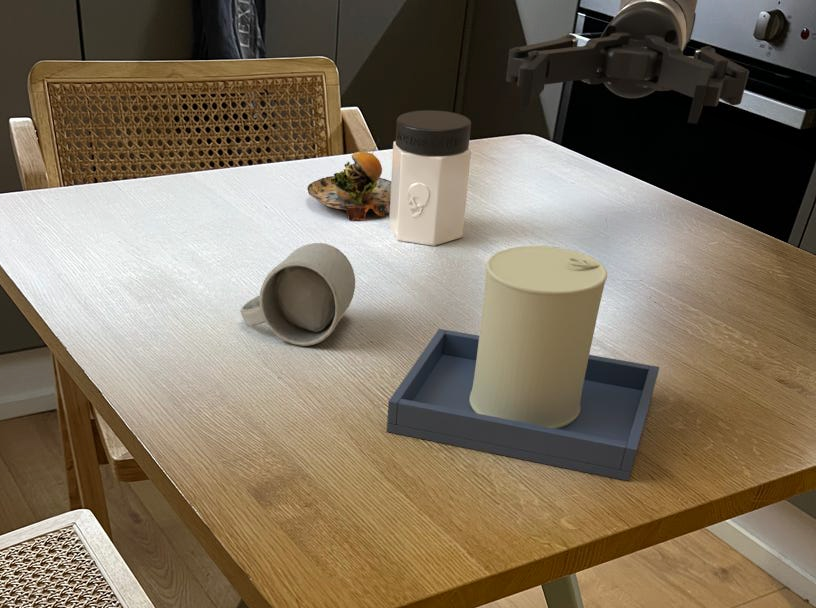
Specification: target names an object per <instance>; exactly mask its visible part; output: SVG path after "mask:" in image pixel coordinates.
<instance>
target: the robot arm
mask: <svg viewBox="0 0 816 608" xmlns="http://www.w3.org/2000/svg"><path fill="white" fill-rule="evenodd" d="M697 5H698V0H620V2H619V8H618V12H617V13H616V14H615V16H614V17H613V18H612V20H610V22H609V23H608V24H607V26H606V27H605V28H604V30H603V32H602V34H601V35H600V37H595V38H589V39H588V40H587V41H586V43H585V45H581V46H580V45H579V39H578V38H577V36H576V35H574V34H572V33H571V34H570V33H568V34H567V35H566V34H565V35H563V36H561V37H559V38H557V39H556V38H555V39H551V40H547V41H542V42H537V43H531V44H528V45H527V44H526V45H524V46H523V45H522V46H518V47H517V46H516V47H513V48H510V49H509V50H508V60H507V69H506V78H505V81H506V82H507V83H509V84H516V83H517V84H516V85H517V87H518V88H521V93H520V102H519V106H520V107H530V106H531V105H532V104H533V103H534V102H535V101H536V99H537V98H538V97H539V96H540V95H541V93H542V92H543V91H544V90H545V86H546V85H551V84H552V85H553V84H554V85H555V84H559V83H560V84H562V83H568V82H575V81H582V82H583V83H586V84H589V85H598V84H599V85H600V84H604V86H605V87H606V88H607V89H608V90H609V91H610V92H612V93H613V94H615V95H616V96H619V97H622V98H626V99H638V98H643V97H646V96H648V95H650V94H653V93H654V92H656V91H657V92H662V91H675V92H677V93H680V94H682V95H684V96H688V97H690V98H692V101H691V106H690V110H689V114H688V118H687V124H694V125H698V122H699V119H700V116H701V113H702V110H703V107H705V106H706V107H717V106H718V104H719V102H720V100H722V101H723V102H724V103H726V104H729V105H730V106H738V105H741V103H742V100H743V96H744V93H745V88H746V85H747V81H748V78H749V74H750V70H749V69H747V68H745V67H743V66H741V65H740V64H737V63H735V62H734V61H732V60H730V59H729V58H727V57H724V56H722V55H720V54H718V53H717V52H716V49H715V48H713V47H712V46H709V45H706V46H703V47H700V49H695V50H694V54H693V55H691V56H690V55H684V52H683V51H684V50H685V49H686V47H687V44H688V43H689V42H690V41H691V38H692V35H693V32H694V27H695V23H696V17H697V13H696V10H697Z"/></svg>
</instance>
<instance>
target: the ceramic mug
mask: <svg viewBox="0 0 816 608" xmlns="http://www.w3.org/2000/svg"><path fill="white" fill-rule="evenodd" d="M355 275H356V274H355V271H354V268H353V266H352V263H351V262H350V260H349V258H348V257H347V256H346V255H345V254H344V253H343V252H342V251H341V250H340V249H338V248H337V247H335V246H334V245H331V244H328V243H323V242H312V243H308V244H305V245H302V246H300V247H298V248H296V249H295V250H293V251H292V252H291V253H290V254H289V255H288V256H287V257H286V258H285V259H284V260H282V261H281V262H280V263H279V264H277V265H276V266H275V267H274V268H273V269H272V270H270V272H269V273H268V274H267V276H266V277H265V279H264V281H263V283H262V285H261V288H260V291H259V295H257V296H255V297H254V298H252V299H250V300H249V301H247V302H246V303H245V304H244V305H243V306H241V308H240V310H239V311H240V315H241V316H242V319H243V321H244V323H245V326H246V325H247V326H248V327H255V326H258V325H263V324H266V325H267V327H268V328H269V329H270V331H271V332H272V333H274V335H275V336H276V337H278V338H279V339H281V340H282V341H284V342H286V343H289V344H292V345H294V346H303V347H307V346H308V347H309V346H313V345H316V344H320V343H321V342H324V341H325V340H326V339H327V338H328V337H329V336H330V335H331V334H332V333H333V332H334V331H335V329H336V328H337V326H338V324H339V322H340V321H341V319H342V318H343V316H344V314H345V312H346V311H347V310H348V308H349V307H350V305H351V303H352V300H353V298H354V294H355V290H356V276H355Z"/></svg>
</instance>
